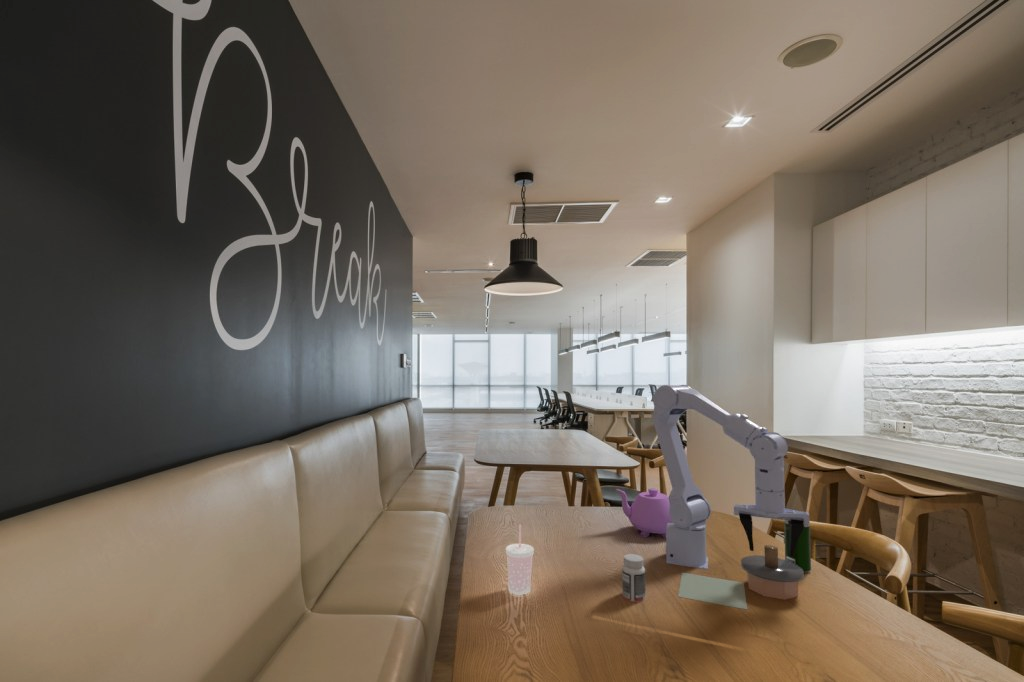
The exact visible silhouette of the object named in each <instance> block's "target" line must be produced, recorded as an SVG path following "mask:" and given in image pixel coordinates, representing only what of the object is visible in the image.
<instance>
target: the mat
mask: <svg viewBox="0 0 1024 682" xmlns="http://www.w3.org/2000/svg"><path fill="white" fill-rule="evenodd" d="M677 598H683V599H688V600H693V601H696V602H697V601H698V602H704V603H709V604H715V605H719V606H725V607H731V608H736V609H739V610H740V609H741V610H748V606H747V605H748V604H747V598H746V591H745V582H740V581H736V580H729V579H724V578H718V577H711V576H705V575H700V574H693V573H689V572H681V576H680V583H679V589H678V593H677Z"/></svg>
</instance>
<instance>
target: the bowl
mask: <svg viewBox="0 0 1024 682" xmlns="http://www.w3.org/2000/svg"><path fill="white" fill-rule="evenodd" d="M746 573H747V575H746V576H747V577H746V578H747V584H748V585H747V586H748V589H749V590H751V591H753V592H755V593H757V594H759V595H761V596H763V597H767V598H773V599H779V600H789V599H794V598H797V597H799V586H798V584H799V583H798V582H799V581H797V582H778V581H772V580H767V579H763V578H760V577H757V576H754V575H752V574H750V573H748V572H747V571H746Z"/></svg>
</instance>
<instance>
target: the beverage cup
mask: <svg viewBox="0 0 1024 682" xmlns="http://www.w3.org/2000/svg"><path fill="white" fill-rule="evenodd" d="M534 551H535V548H534V546H532V545H530V544H528V543H522V524H518V543H511V544H509V545H507V546H506V547H505V553H506V556H507V557H506V559H507V560H506V561H507V583H508V592H509V591H510V592H511V593H513V594H516V595H522V594H527V593H529V592H530V593H531V588H532V587H531V585H532V584H531V582H532V572H533V571H532V569H533V557H534V556H533V555H534V553H535V552H534ZM530 593H529V594H530Z"/></svg>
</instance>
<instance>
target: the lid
mask: <svg viewBox="0 0 1024 682" xmlns="http://www.w3.org/2000/svg"><path fill="white" fill-rule="evenodd" d="M763 549H764V551H763V552H764V553H763V554H764V555H747V556H744V557H743V558H742V557H741V560H740V567H741V568H742V569H743V570H744V571H745V572H746V573H747V572H748V573H750V574H752V575H754V576H757V577H760V578H763V579H767V580H772V581H778V582H797V581H798V582H800V581H802V580H803V579H804V578H805V574H804V571H803V570H802V568H800V567H799V566H797V565H796V564H794V563H791V562H789V561H786V560H785V559H782V558H779V548H778V546H777V547H776V546H775V545H770V544H766V545H764V548H763Z"/></svg>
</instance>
